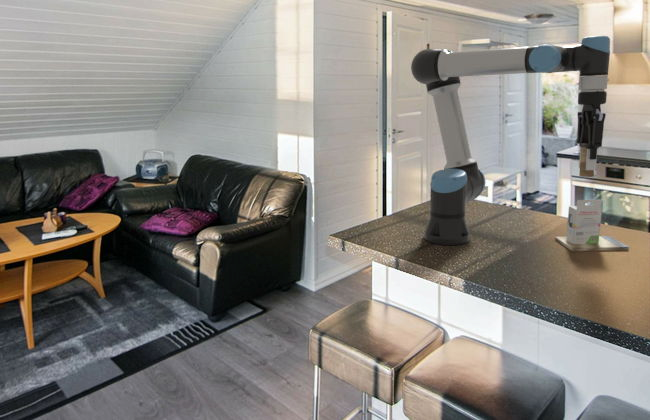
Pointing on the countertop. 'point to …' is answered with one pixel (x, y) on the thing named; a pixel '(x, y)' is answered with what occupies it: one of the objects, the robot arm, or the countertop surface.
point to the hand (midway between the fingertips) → (587, 168)
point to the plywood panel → (603, 244)
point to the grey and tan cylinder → (584, 162)
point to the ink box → (584, 222)
